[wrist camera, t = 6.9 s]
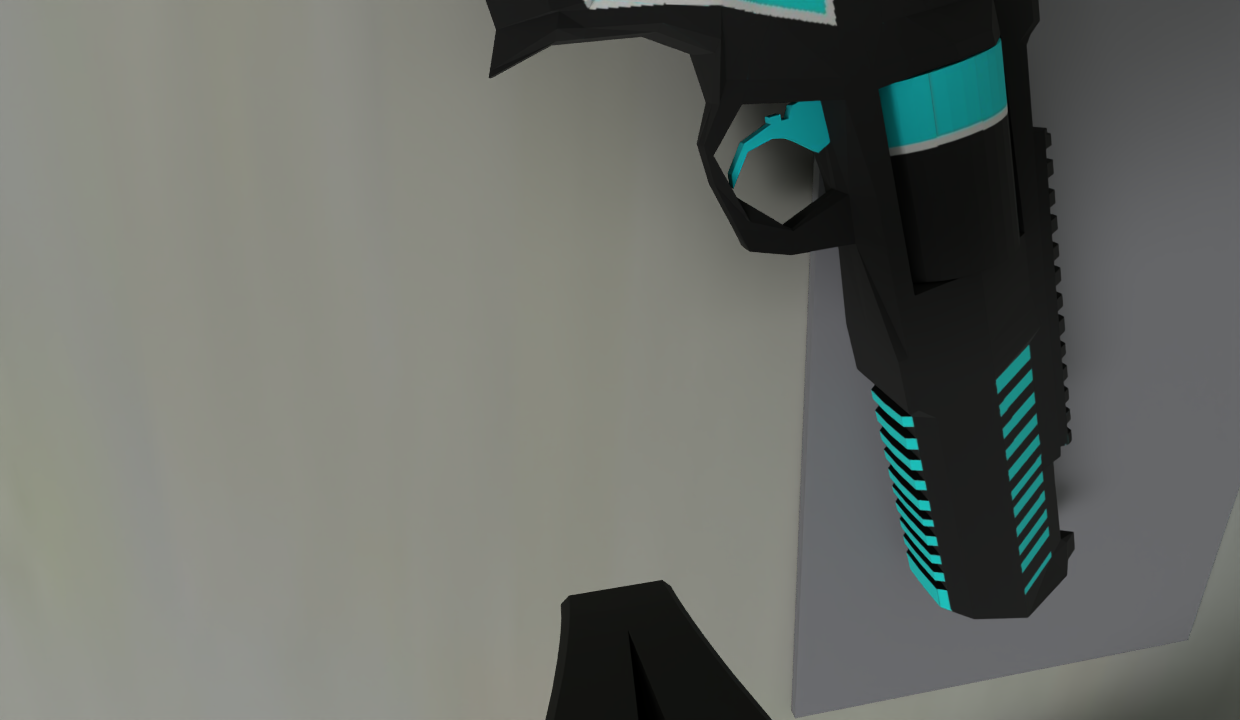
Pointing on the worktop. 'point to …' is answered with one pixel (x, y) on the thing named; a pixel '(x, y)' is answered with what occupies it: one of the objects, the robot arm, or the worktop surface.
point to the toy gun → (901, 242)
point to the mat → (1097, 380)
